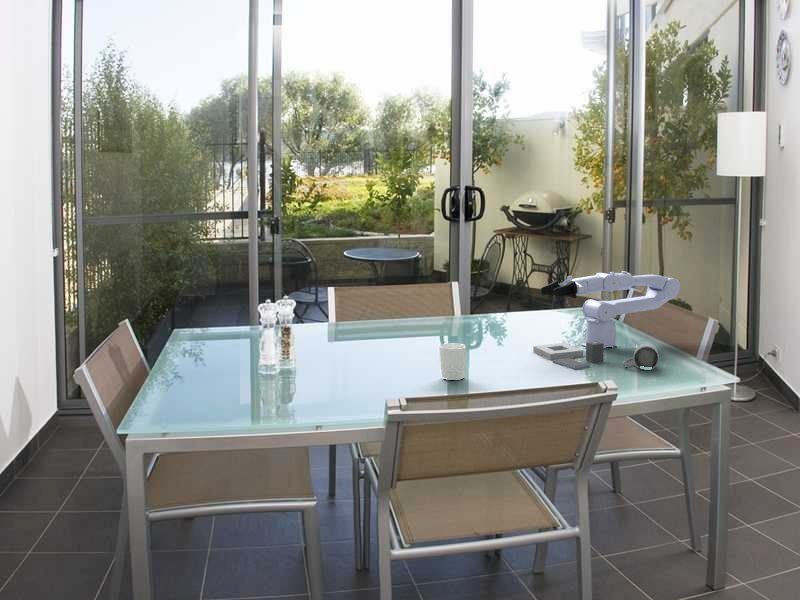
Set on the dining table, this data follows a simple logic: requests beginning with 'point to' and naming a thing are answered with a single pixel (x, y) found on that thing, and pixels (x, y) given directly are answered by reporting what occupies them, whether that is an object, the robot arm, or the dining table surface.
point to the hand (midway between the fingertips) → (547, 291)
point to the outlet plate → (558, 351)
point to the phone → (571, 363)
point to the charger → (594, 352)
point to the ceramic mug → (644, 357)
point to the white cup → (453, 360)
